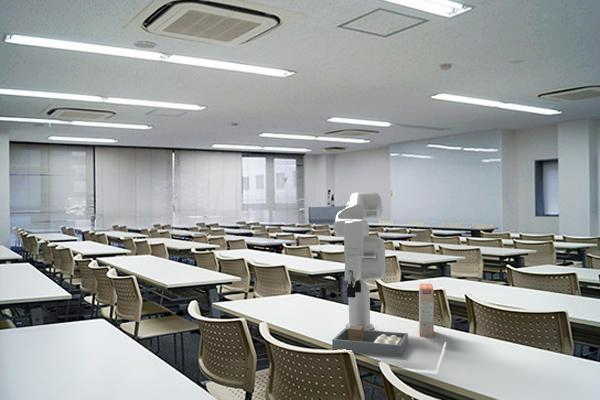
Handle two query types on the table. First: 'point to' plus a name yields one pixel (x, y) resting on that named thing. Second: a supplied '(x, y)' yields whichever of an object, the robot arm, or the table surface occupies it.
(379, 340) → the egg carton
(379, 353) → the tray
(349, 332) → the walnut block
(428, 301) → the cracker box
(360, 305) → the robot arm
